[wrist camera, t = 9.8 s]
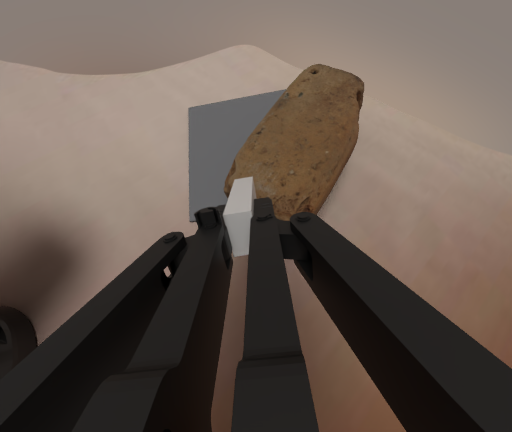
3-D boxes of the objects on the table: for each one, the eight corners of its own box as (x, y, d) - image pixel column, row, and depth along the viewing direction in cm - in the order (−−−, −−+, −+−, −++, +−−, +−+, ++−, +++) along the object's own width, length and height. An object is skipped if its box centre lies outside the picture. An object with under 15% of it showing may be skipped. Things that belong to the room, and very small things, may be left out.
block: (208, 176, 20) (306, 52, 24) (227, 205, 27) (300, 105, 31) (305, 231, 17) (396, 78, 21) (298, 248, 24) (367, 130, 28)
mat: (190, 222, 27) (189, 221, 27) (189, 109, 34) (188, 107, 33) (322, 202, 26) (323, 201, 26) (295, 89, 32) (296, 87, 32)
